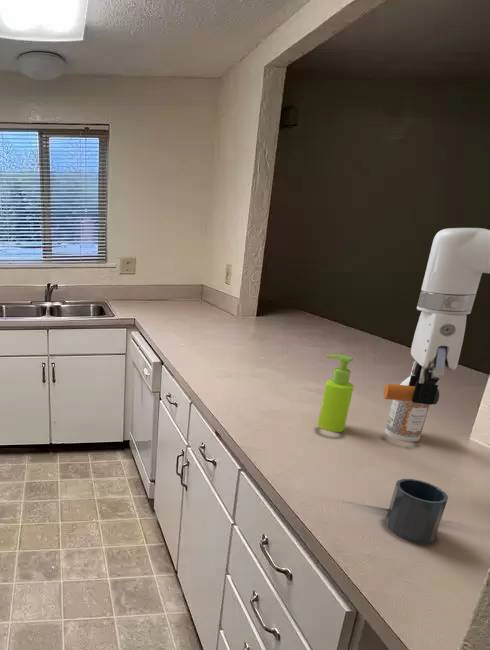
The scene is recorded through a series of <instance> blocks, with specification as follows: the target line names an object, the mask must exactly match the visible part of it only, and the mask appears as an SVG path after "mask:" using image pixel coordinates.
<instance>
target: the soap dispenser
mask: <svg viewBox="0 0 490 650" xmlns="http://www.w3.org/2000/svg"><path fill="white" fill-rule="evenodd" d="M326 357H327V358H328V359H330V358H331V359H335V360H336V359H337V360H340V361H339V365H338V366H339V367H337V368H334V371H333V376H332V379H328V380H326V381H325V387H324V391H323V397H322V401H321V407H320V412H319V418H318V422H317V426H318V428H320V429H322V430H325V431H327V432H333V433H341V432H343V431H344V430H345V427H346V422H347V418H348V414H349V410H350V405H351V402H352V401H351V400H352V395H353V391H354V388H355V387H354V384H353V383H351V382H349V381H350V376H351V370H350V369H348V368H349V367H348V366H349V363H350V362H353V361H354V357H351V356H347V355H343V354H337V353H336V354H335V353H331V354H328V355H326Z"/></svg>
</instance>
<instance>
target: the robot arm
mask: <svg viewBox="0 0 490 650" xmlns="http://www.w3.org/2000/svg"><path fill="white" fill-rule="evenodd" d="M483 274H490V229H487V228H482V227H448V228H443V229H441V230H439V231H438V232H437V233H436V234H435V236H434V237H433V239H432V244H431V247H430V252H429V255H428V259H427V265H426V269H425V273H424V277H423V280H422V284H421V290H420V293H419V298H418V301H417V306H416V310H417V311H421V312H420V315H419V316H418V321H417V325H416V328H415V331H414V335H413V338H412V342H411V348H410V356H411V357H412V359H414V361H415V362H414V361H413V364H414V366H413V365H412V367H413V370H412V369H411V371H412V375H411V374H410V375H411V378H410V382H409V386H415V389H414V393H413V397H412V402H413V403H420V404H429V406H430V405H434V404H433V402H434V399H435V395H436V392H437V389H439V385H440V382H441V379H442V378H444V376H445V368H446V369H447V370H448V371H453V372H454V371H455V370H456V369H457V367H458V364H459V360H460V356H461V351H462V347H463V342H464V337H465V332H466V326H467V315H470V314H471V313H472V310H473V306H474V303H475V299H476V296H477V292H478V289H479V285H480V282H481V278H482V275H483ZM414 375H415V376H414Z"/></svg>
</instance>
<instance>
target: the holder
mask: <svg viewBox="0 0 490 650" xmlns="http://www.w3.org/2000/svg"><path fill="white" fill-rule="evenodd" d="M394 485H395V486H394V489H393V492H392V496H391V500H390V503H389V506H388V510H387V515H386V518H385V525H386V527H387V528H388V530H390V531H391V532H392V533H393V534H395V535H396V536H398V537H399V538H402V539H404V540H406V541H410V542H413V543H418V544H419V543H420V544H428V543H429V544H430V543H432V542H433V541H434V540H435V539H436V536H437V533H438V530H439V527H440V525H441V521H442V518H443V515H444V513H445V508H446V506H447V503H448V500H449V496H448V495H447V493H446V492H445V491H444V490H442V488H439V487H438V486H436V485H434V484H432V483H429V482H426V481H423V480H419V479H414V478H402V479H398V480H397V481H396V482H395V484H394Z"/></svg>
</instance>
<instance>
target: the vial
mask: <svg viewBox="0 0 490 650" xmlns="http://www.w3.org/2000/svg"><path fill="white" fill-rule="evenodd" d="M414 389H415V386H406V385H400V384H397V383H396V384H395V383H386V384H385V385H384V387H383V399H385V400H391V401H393V400H399V401H408V402H412V397H413V393H414ZM439 400H440V390H439V388H437V392H436V395H435V399H434V402H433V404H432V405H434V406H435V405H437V403H438V402H439Z"/></svg>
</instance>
